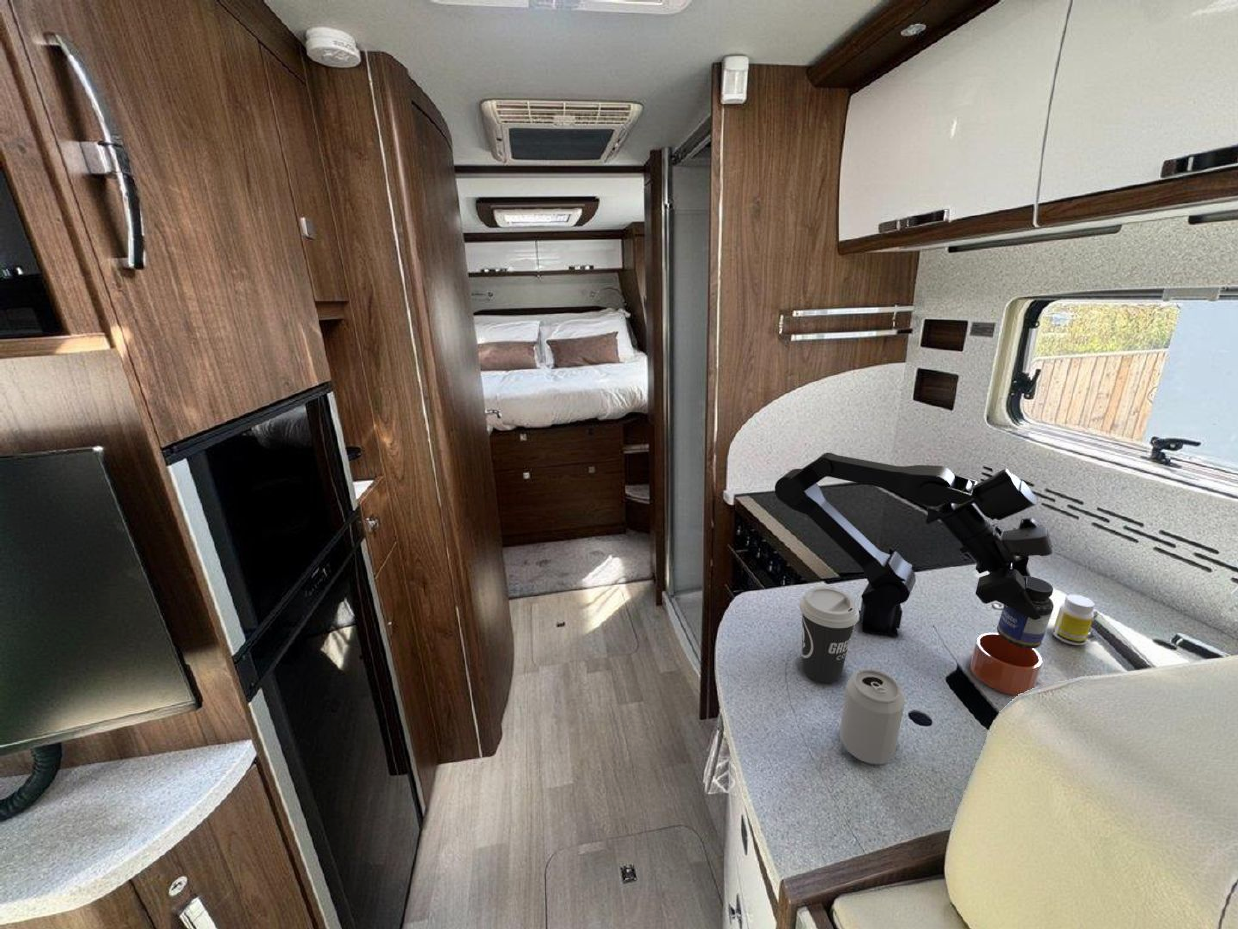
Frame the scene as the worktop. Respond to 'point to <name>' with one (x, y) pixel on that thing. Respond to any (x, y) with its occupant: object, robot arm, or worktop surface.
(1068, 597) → the supplement bottle
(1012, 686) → the ceramic bowl
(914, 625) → the worktop surface
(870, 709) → the can
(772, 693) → the worktop surface
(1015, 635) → the pill bottle
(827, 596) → the coffee cup
